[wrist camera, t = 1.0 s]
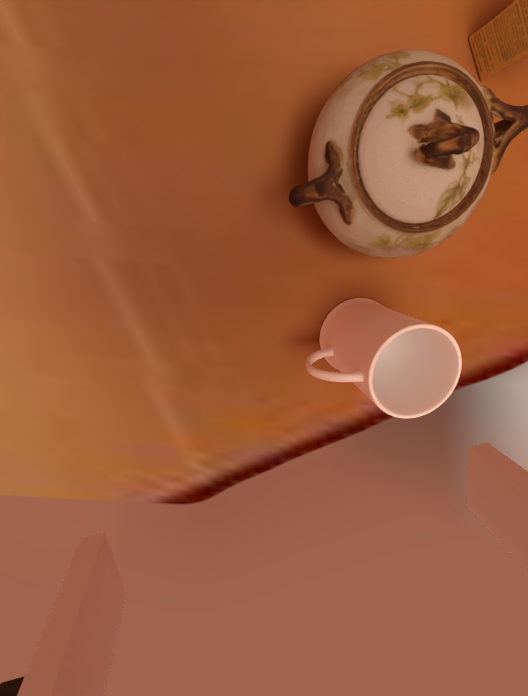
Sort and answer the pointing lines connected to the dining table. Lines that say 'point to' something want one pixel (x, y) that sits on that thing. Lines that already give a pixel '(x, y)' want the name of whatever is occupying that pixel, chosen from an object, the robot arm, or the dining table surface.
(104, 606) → the robot arm
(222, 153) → the dining table surface
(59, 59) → the dining table surface
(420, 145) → the sugar bowl
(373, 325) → the mug
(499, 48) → the candy box
